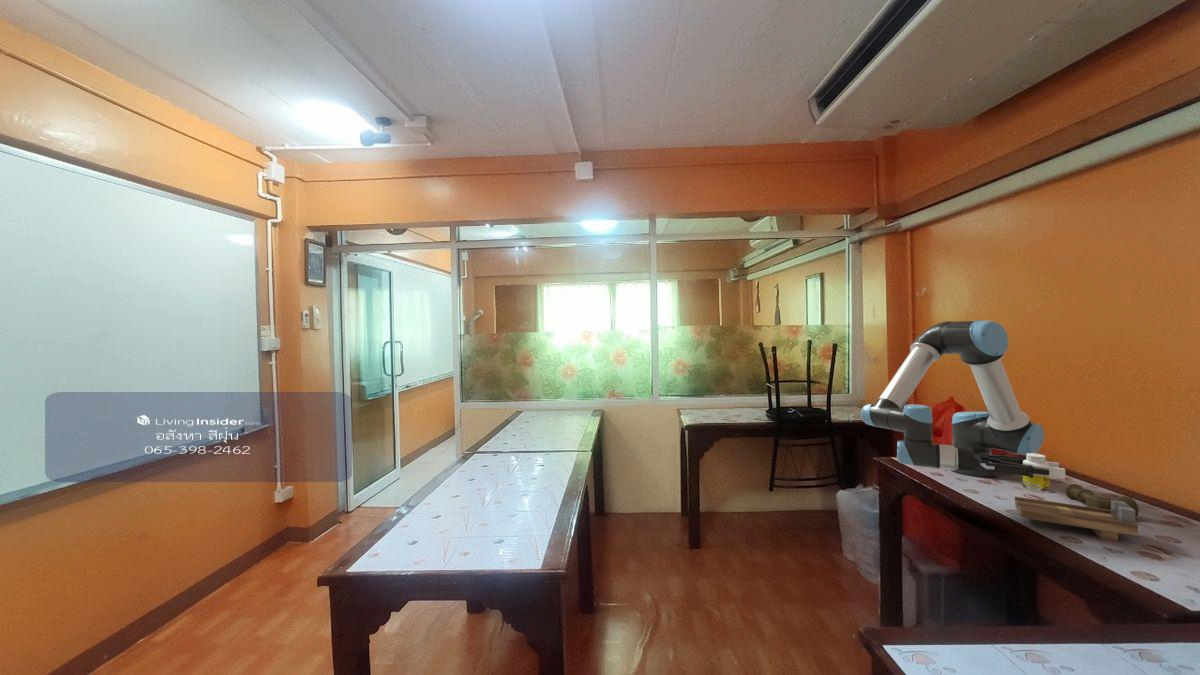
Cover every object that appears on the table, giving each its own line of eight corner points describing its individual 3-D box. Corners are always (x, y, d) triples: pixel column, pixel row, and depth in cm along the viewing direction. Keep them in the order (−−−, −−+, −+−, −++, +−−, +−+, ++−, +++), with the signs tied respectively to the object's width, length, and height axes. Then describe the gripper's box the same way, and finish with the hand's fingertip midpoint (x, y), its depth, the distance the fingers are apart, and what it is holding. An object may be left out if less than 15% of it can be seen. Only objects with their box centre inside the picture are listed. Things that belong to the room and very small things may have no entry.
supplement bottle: (1046, 495, 125) (1046, 458, 125) (1019, 489, 130) (1019, 454, 130) (1052, 490, 128) (1052, 455, 128) (1025, 485, 133) (1025, 451, 133)
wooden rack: (1014, 513, 136) (1014, 485, 136) (1122, 530, 123) (1122, 500, 123) (1021, 526, 128) (1021, 496, 127) (1138, 545, 115) (1137, 512, 115)
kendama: (1091, 500, 146) (1152, 525, 126) (1056, 499, 148) (1111, 524, 128) (1090, 482, 146) (1151, 504, 126) (1055, 481, 148) (1110, 503, 128)
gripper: (954, 463, 147) (1052, 474, 134) (959, 479, 132) (1071, 494, 119) (953, 440, 147) (1052, 449, 134) (959, 453, 132) (1071, 465, 118)
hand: (1061, 470), depth 126 cm, fingers closed on supplement bottle, 6 cm apart
